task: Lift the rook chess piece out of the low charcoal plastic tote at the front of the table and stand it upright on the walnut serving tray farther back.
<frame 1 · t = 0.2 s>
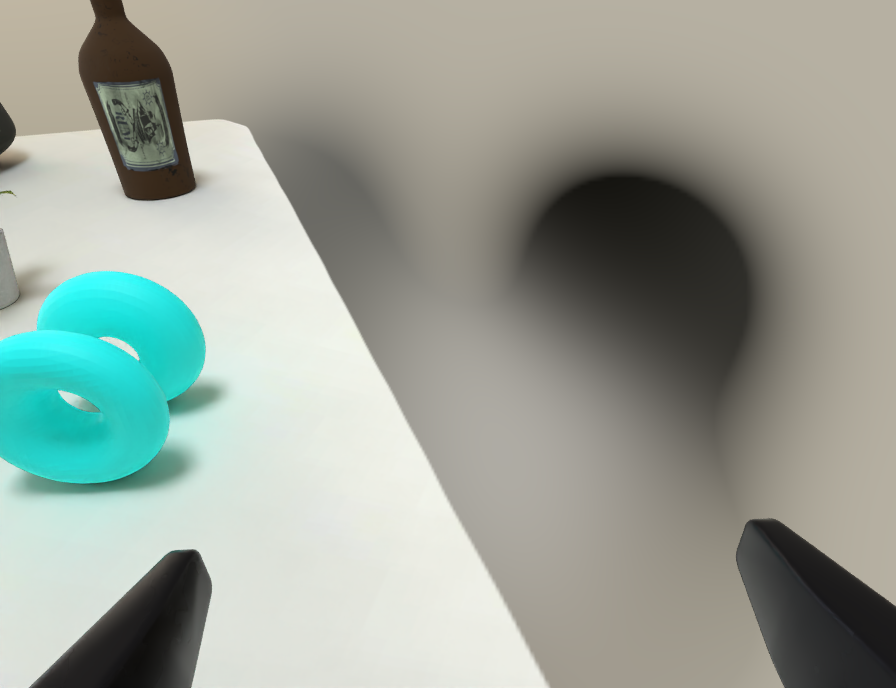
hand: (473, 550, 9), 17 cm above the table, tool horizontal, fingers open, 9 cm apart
olive oil: (161, 191, 79), on the table
donuts: (128, 437, 36), on the table
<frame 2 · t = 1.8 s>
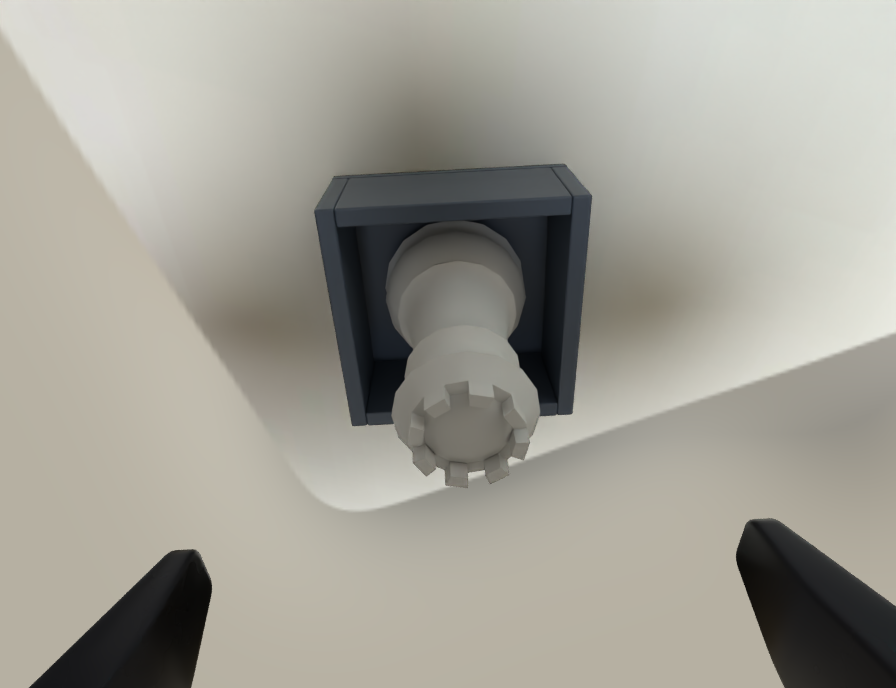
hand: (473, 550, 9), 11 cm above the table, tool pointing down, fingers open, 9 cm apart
rook chess piece: (454, 277, 18), resting on tote
tote: (454, 276, 18), on the table
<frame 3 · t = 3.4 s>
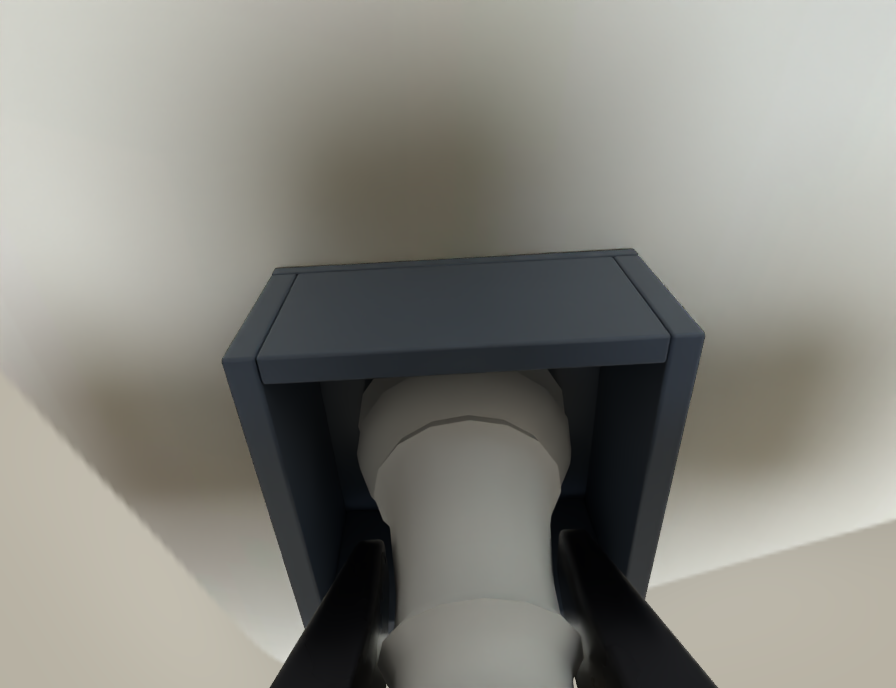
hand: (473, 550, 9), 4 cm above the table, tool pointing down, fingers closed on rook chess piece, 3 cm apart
rook chess piece: (460, 404, 12), resting on tote, touching gripper
tote: (460, 401, 12), on the table
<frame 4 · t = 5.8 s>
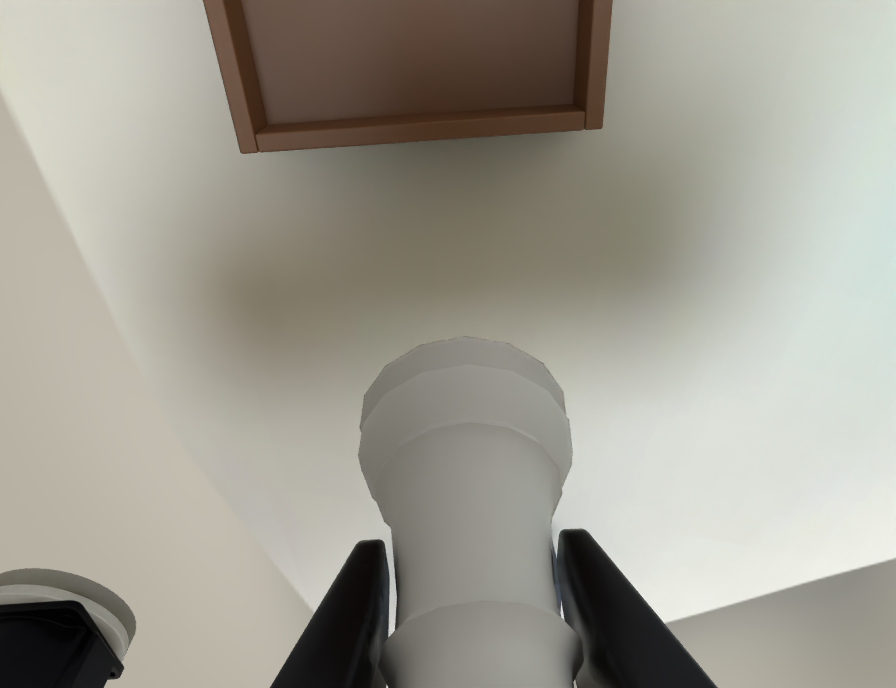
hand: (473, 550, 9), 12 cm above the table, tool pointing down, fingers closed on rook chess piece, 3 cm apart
rook chess piece: (462, 406, 12), point 8 cm above the table, touching gripper
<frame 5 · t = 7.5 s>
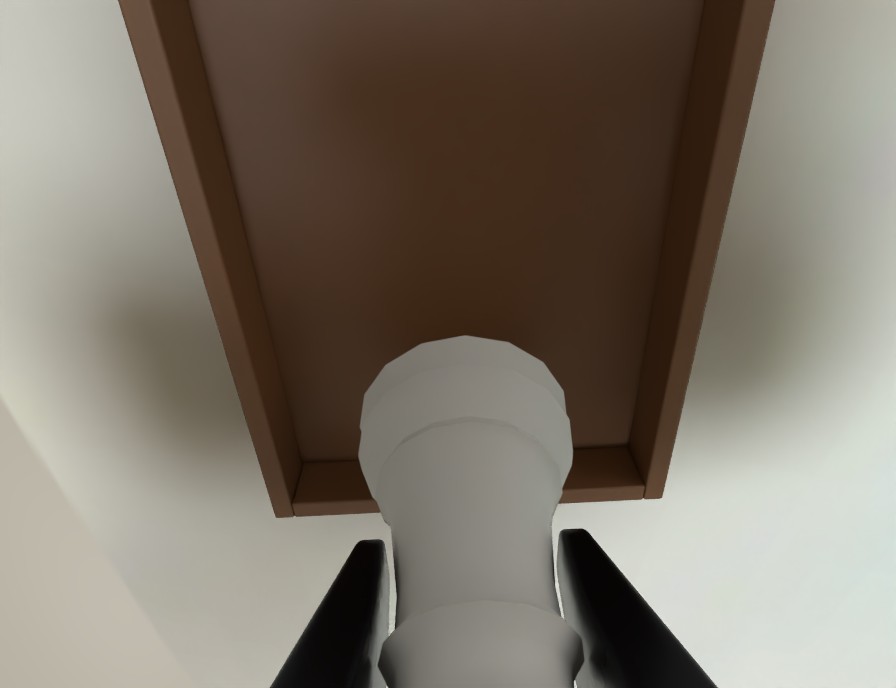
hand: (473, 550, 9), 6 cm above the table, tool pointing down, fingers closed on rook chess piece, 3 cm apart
rook chess piece: (462, 405, 12), point 2 cm above the table, touching gripper
tray: (454, 174, 12), on the table
when the fingers open (4 cm above the table, at t = 8.3 s): rook chess piece stays where it is, resting on tray.
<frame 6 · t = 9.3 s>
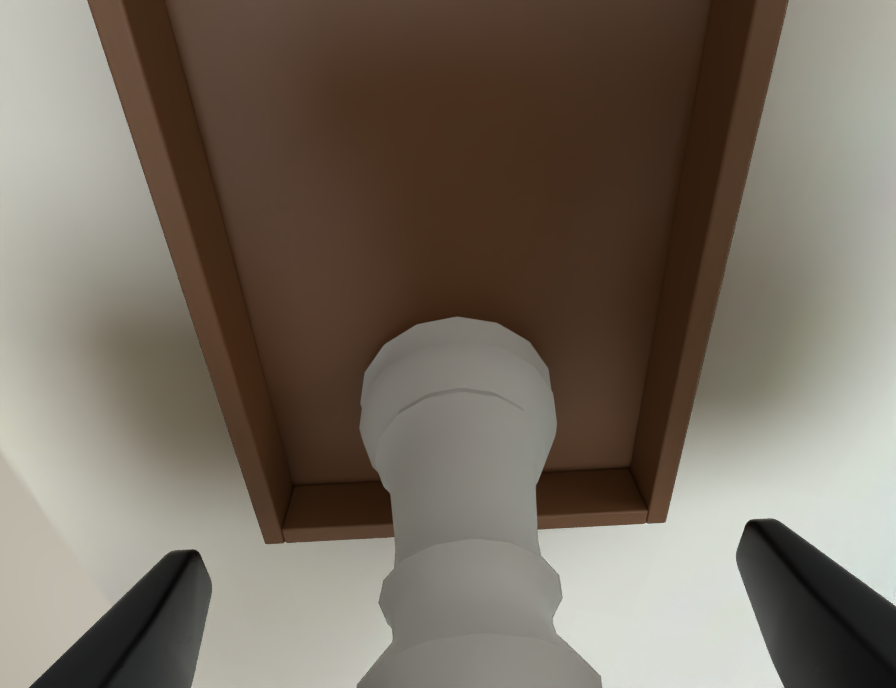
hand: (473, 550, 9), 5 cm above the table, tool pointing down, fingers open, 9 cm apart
rook chess piece: (455, 384, 13), resting on tray
tray: (449, 190, 11), on the table
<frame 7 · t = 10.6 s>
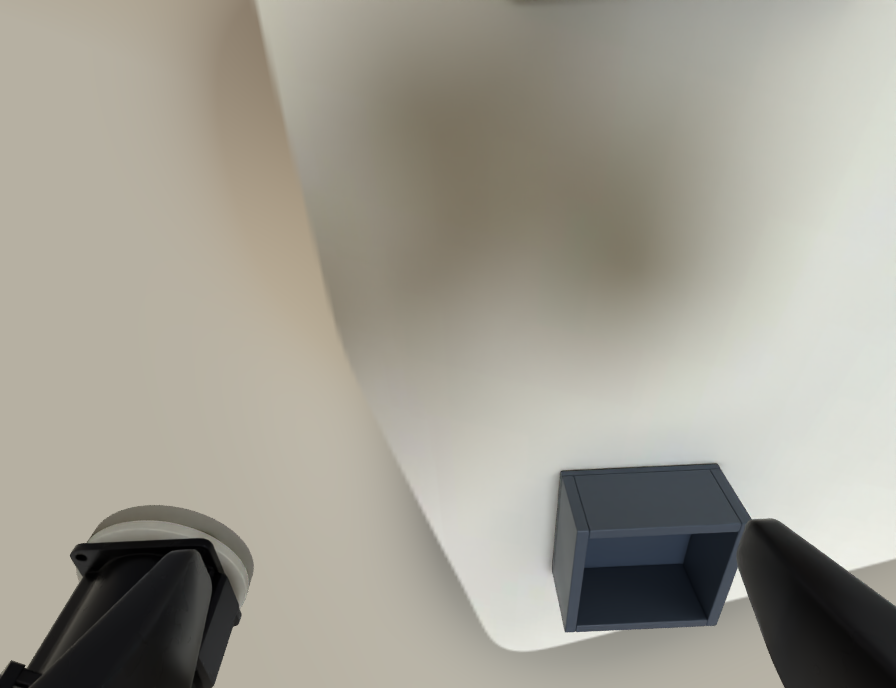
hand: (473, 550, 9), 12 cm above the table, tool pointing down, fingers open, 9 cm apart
tote: (629, 520, 26), on the table
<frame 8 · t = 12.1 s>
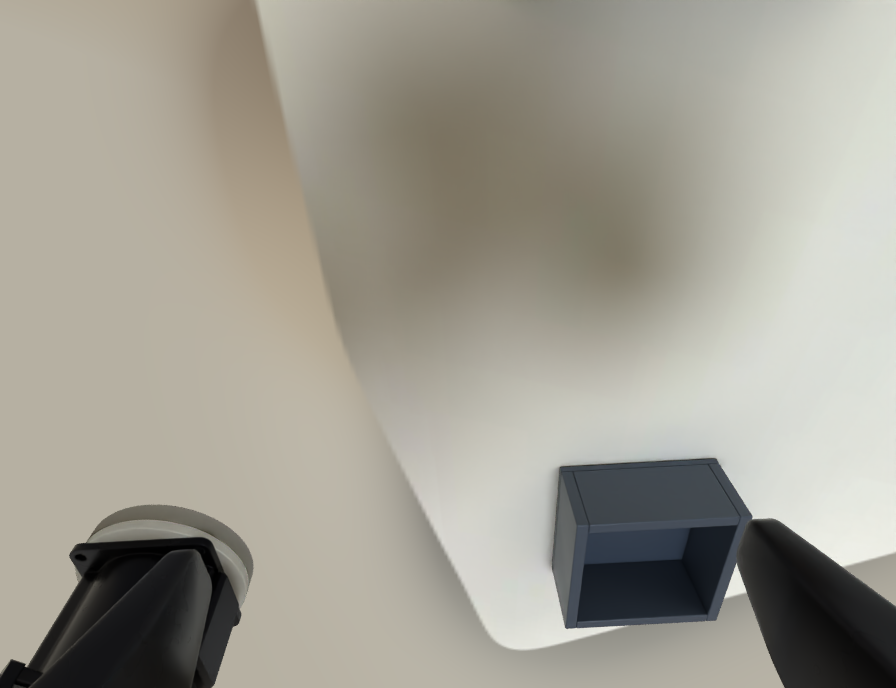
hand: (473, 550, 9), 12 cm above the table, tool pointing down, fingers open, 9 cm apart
tote: (628, 516, 26), on the table
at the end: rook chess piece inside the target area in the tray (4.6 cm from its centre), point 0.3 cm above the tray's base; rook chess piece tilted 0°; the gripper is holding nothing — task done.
